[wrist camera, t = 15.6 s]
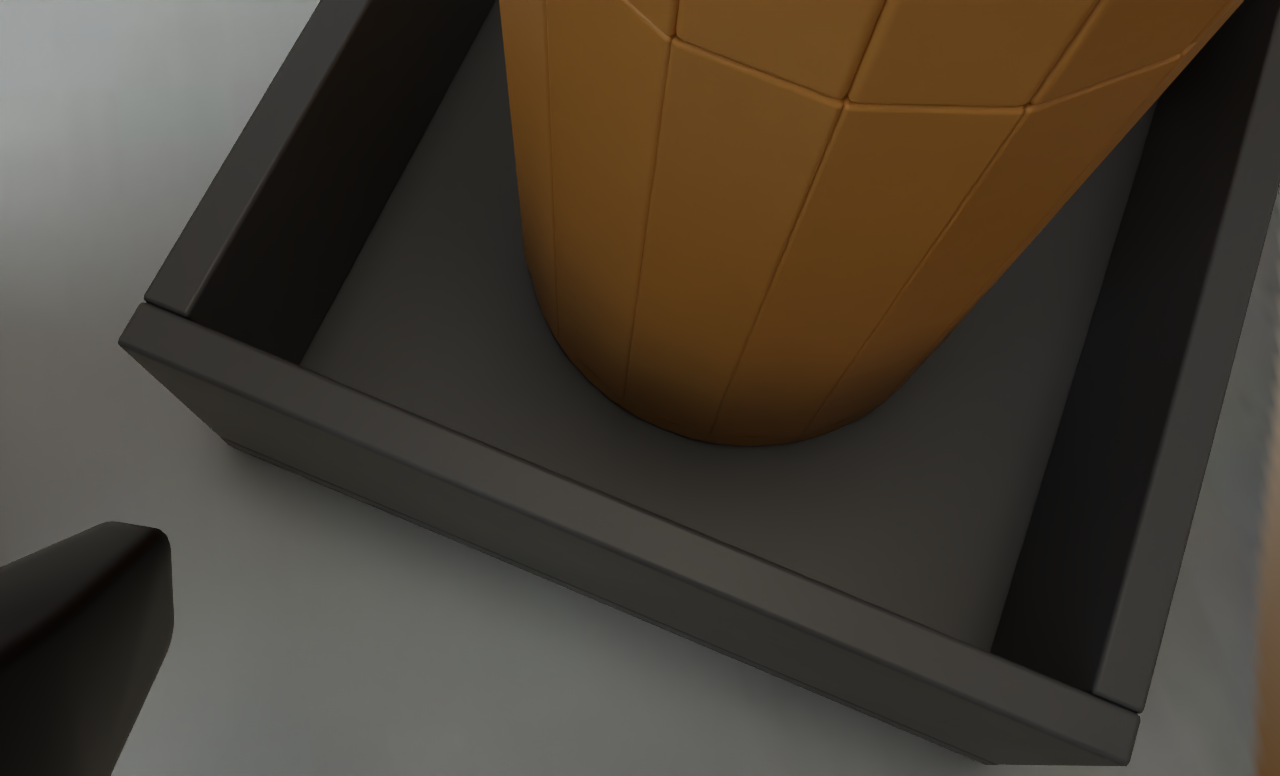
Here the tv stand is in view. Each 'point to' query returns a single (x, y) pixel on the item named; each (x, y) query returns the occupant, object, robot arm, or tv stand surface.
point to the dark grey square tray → (728, 474)
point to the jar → (804, 182)
